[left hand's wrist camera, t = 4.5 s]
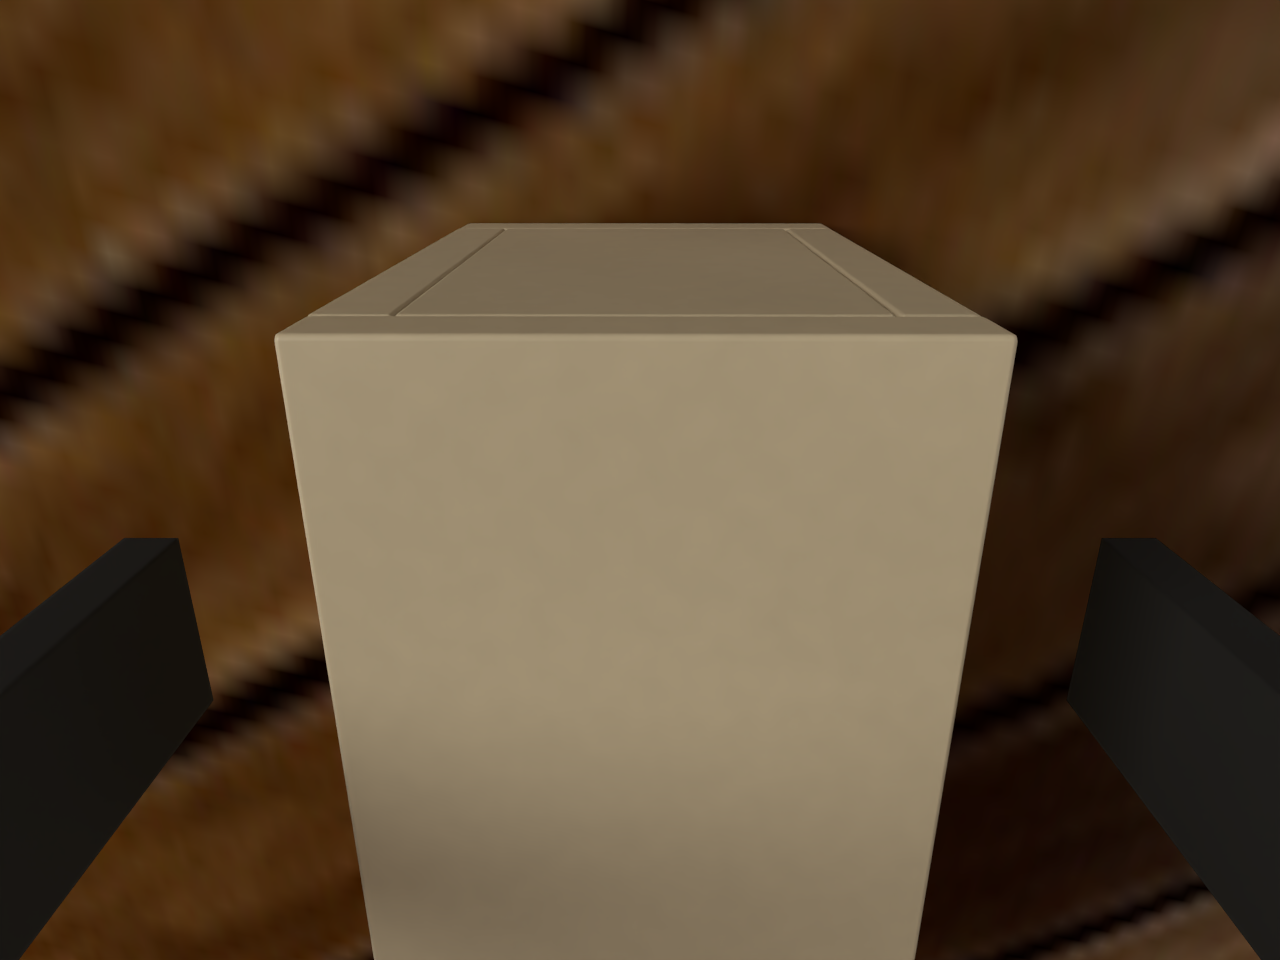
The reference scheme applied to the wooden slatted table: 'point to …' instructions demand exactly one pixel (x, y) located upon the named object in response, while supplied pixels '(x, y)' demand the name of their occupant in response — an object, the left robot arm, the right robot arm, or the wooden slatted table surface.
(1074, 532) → the wooden slatted table surface
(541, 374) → the cabinet
